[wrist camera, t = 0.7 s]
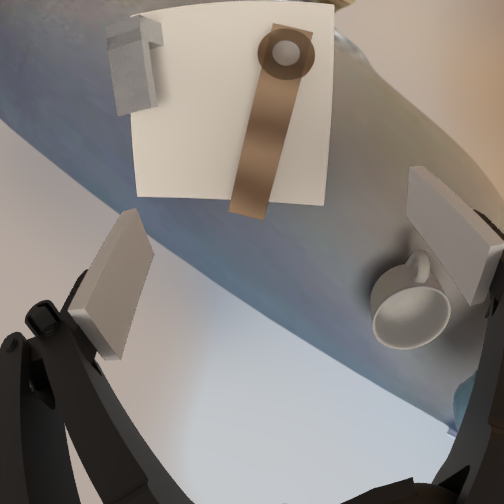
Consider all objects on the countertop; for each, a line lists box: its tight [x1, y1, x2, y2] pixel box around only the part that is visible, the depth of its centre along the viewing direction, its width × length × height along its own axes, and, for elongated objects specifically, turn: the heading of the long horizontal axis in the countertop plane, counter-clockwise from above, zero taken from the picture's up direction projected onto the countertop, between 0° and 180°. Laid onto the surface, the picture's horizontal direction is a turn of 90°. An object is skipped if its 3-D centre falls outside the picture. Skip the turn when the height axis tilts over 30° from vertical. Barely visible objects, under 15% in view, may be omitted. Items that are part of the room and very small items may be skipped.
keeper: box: [106, 15, 164, 116], centre depth 29 cm, size 4×10×7 cm, turn 7°
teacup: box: [370, 250, 451, 350], centre depth 38 cm, size 14×11×8 cm
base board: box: [131, 1, 334, 206], centre depth 33 cm, size 24×24×2 cm
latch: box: [228, 23, 315, 220], centre depth 31 cm, size 21×6×4 cm, turn 167°
